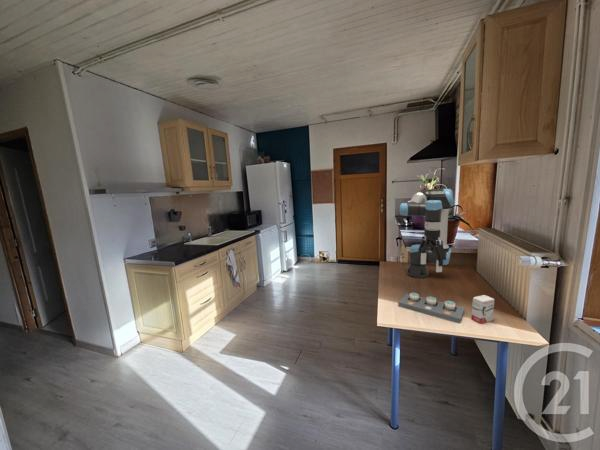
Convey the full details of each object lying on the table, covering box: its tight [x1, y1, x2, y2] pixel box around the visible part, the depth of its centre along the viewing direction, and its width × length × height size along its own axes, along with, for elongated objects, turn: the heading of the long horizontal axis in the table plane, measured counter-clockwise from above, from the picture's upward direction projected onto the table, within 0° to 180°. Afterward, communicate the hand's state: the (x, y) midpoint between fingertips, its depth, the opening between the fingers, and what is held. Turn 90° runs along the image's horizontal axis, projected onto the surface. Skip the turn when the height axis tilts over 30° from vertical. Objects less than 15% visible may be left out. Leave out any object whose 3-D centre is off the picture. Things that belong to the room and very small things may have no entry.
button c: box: [444, 300, 456, 312], centre depth 130 cm, size 5×5×4 cm
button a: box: [409, 292, 420, 302], centre depth 142 cm, size 5×5×4 cm
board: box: [397, 293, 465, 324], centre depth 135 cm, size 14×30×3 cm, turn 49°
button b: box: [426, 295, 437, 307], centre depth 136 cm, size 5×5×4 cm
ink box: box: [471, 294, 495, 324], centre depth 121 cm, size 9×5×12 cm, turn 106°
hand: (430, 267), depth 132 cm, fingers open, 13 cm apart
